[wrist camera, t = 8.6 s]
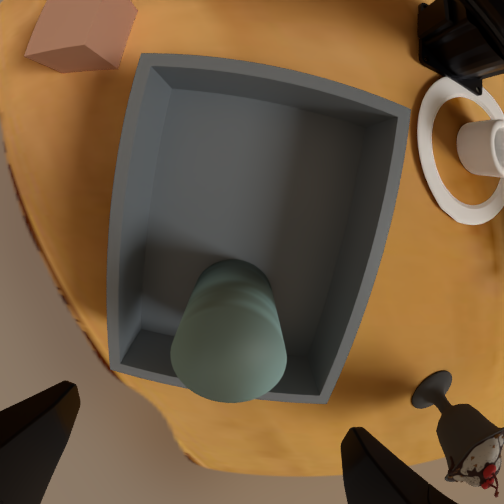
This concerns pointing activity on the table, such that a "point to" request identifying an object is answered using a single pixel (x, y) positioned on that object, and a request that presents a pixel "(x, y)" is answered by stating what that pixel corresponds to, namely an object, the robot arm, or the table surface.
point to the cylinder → (230, 335)
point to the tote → (249, 207)
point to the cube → (81, 34)
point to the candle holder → (464, 150)
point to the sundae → (463, 435)
